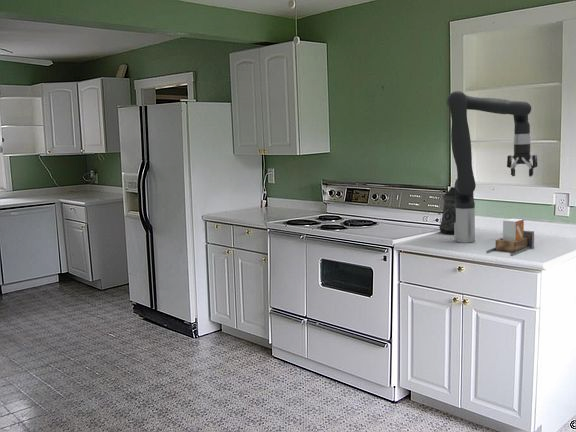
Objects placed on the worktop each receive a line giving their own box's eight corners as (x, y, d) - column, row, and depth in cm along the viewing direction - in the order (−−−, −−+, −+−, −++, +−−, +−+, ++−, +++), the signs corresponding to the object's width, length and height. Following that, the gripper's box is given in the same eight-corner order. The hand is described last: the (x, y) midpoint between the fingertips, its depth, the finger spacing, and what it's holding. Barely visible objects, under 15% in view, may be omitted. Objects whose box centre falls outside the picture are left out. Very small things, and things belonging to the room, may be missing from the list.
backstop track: (484, 253, 270) (484, 235, 269) (505, 245, 284) (505, 229, 283) (514, 256, 260) (514, 238, 259) (534, 248, 274) (534, 231, 273)
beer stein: (450, 228, 337) (449, 185, 334) (481, 232, 323) (480, 186, 319) (433, 233, 326) (432, 188, 323) (464, 236, 312) (463, 189, 308)
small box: (515, 249, 268) (515, 221, 267) (502, 248, 273) (502, 220, 271) (524, 246, 274) (524, 219, 272) (511, 245, 278) (511, 218, 277)
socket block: (495, 250, 273) (495, 240, 272) (507, 246, 281) (507, 236, 281) (516, 253, 266) (516, 242, 265) (527, 248, 274) (527, 237, 274)
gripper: (539, 142, 286) (539, 175, 288) (511, 143, 296) (511, 175, 298) (533, 143, 280) (533, 177, 283) (504, 144, 290) (504, 176, 293)
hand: (521, 176), depth 290 cm, fingers open, 8 cm apart
